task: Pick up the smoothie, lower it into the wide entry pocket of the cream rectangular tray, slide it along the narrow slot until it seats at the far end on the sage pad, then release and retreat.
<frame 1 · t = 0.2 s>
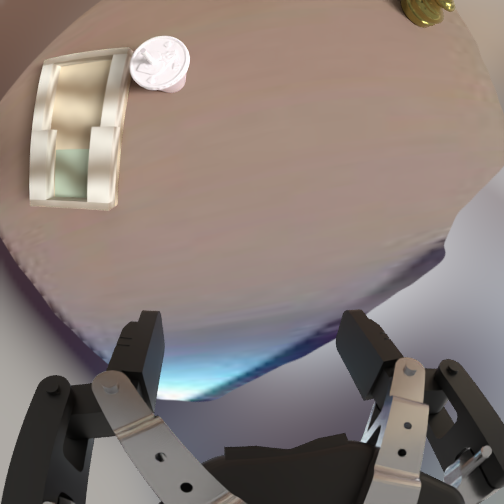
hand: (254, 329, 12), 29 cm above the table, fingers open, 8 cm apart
olive green stacked toy: (414, 12, 28), on the table
smoothie: (172, 80, 31), on the table
cream rectangular tray: (80, 128, 31), on the table
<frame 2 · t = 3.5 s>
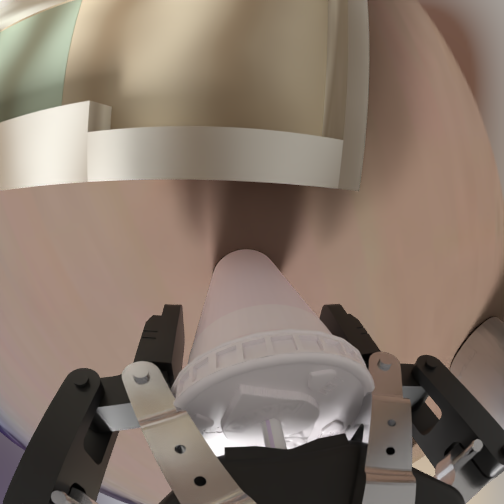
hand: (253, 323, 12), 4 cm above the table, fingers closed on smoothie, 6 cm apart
smoothie: (244, 278, 16), on the table, touching gripper
cream rectangular tray: (127, 45, 10), on the table
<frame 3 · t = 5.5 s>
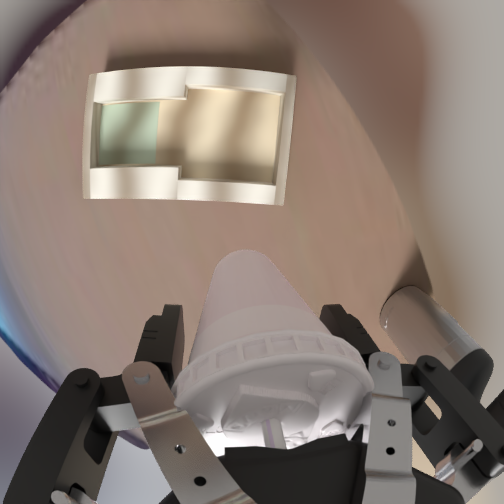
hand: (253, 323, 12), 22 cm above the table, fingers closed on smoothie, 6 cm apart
smoothie: (244, 278, 16), point 18 cm above the table, touching gripper
cream rectangular tray: (185, 132, 28), on the table
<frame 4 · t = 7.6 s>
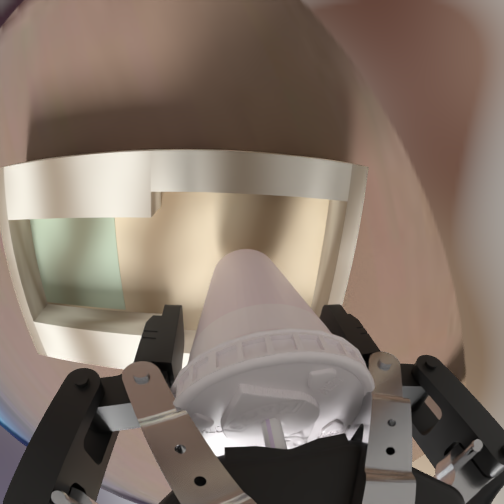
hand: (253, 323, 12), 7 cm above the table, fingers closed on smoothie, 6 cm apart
smoothie: (244, 277, 16), point 3 cm above the table, touching gripper
cream rectangular tray: (166, 257, 18), on the table
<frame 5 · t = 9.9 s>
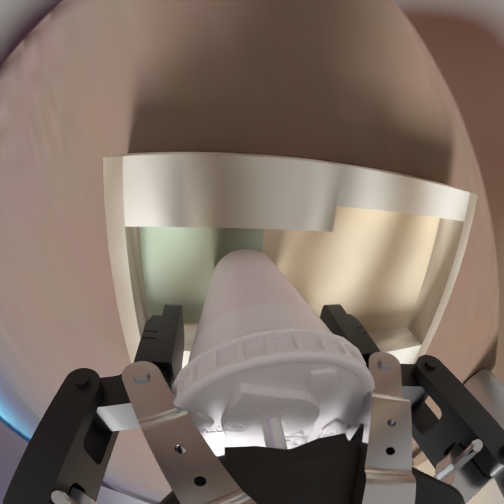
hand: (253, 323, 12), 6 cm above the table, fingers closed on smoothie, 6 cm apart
smoothie: (244, 277, 16), point 2 cm above the table, touching gripper
cream rectangular tray: (302, 267, 18), on the table
when the fingers open (6 cm above the table, at t = 11.9 s): smoothie stays where it is, resting on cream rectangular tray.
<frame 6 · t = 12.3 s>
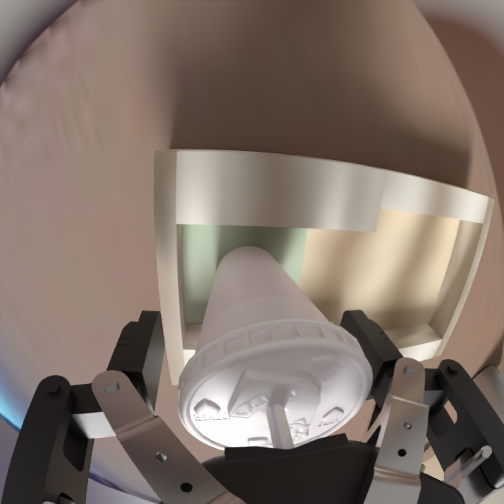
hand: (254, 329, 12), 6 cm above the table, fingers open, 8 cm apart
smoothie: (247, 274, 17), point 1 cm above the table, touching cream rectangular tray
cream rectangular tray: (337, 266, 18), on the table
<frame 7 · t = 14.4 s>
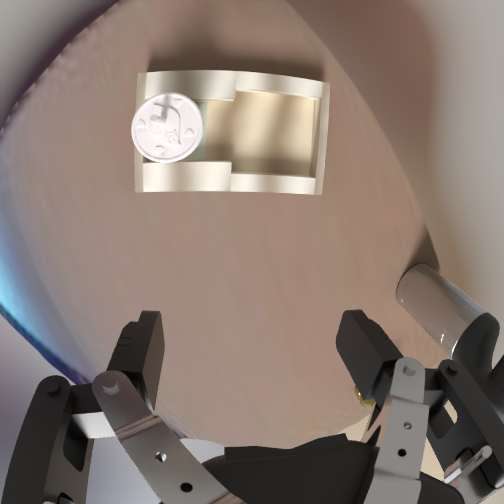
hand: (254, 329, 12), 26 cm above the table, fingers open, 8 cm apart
olive green stacked toy: (367, 383, 56), on the table
smoothie: (178, 130, 30), point 1 cm above the table, touching cream rectangular tray
cream rectangular tray: (230, 130, 32), on the table
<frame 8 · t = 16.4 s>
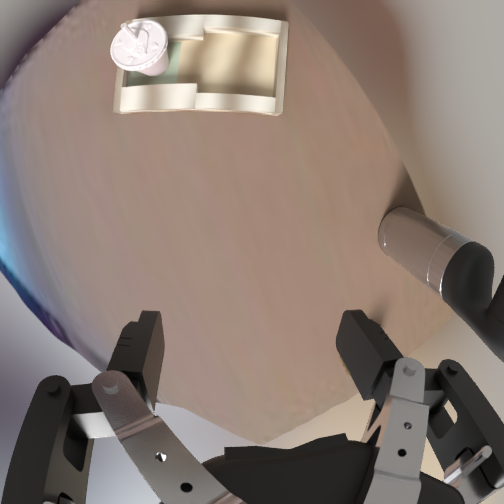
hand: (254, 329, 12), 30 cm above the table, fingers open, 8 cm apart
smoothie: (156, 64, 30), point 1 cm above the table, touching cream rectangular tray
cream rectangular tray: (201, 65, 32), on the table
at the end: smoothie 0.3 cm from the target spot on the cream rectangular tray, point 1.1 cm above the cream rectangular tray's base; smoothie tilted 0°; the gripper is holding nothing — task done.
